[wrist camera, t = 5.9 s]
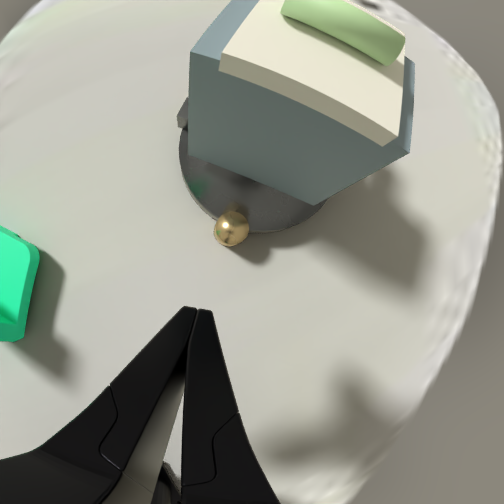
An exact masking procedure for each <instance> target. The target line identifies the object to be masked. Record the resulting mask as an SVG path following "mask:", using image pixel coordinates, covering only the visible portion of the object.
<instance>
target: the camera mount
mask: <svg viewBox="0 0 504 504" xmlns="http://www.w3.org/2000/svg"><path fill="white" fill-rule="evenodd" d="M39 260H40V256H39V251H38V249H37V248H36V246H34V245H33V244H31V243H29V242H27V241H25V240H23V239H21V238H19V237H18V235H17V234H15V233H14V232H12V231H10V230H8V229H6V228H4V227H2V226H0V341H9V342H15V341H17V340H20V339H22V338H24V333H25V326H26V320H27V314H28V309H29V303H30V298H31V294H32V289H33V285H34V280H35V276H36V272H37V268H38V264H39Z"/></svg>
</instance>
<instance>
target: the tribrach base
mask: <svg viewBox="0 0 504 504" xmlns="http://www.w3.org/2000/svg"><path fill="white" fill-rule="evenodd" d="M188 100H189V98H186V100H185V102H184V104H183V105H182V107H181V109H180V111H179V113H178V115H177V121H178V127H180V128H183V129H182V133H181V136H180V143H179V159H180V165H181V170H182V175H183V179H184V182H185V184H186V187H187V189H188V191H189V193H190V195H191V196H192V198H193V199H194V200H195V202H196V203H197V204H198V205H199V206H200V208H201V209H202V210H203V211H204V212H206V213H207V214H208V215H209V216H210V217H212V218H213V219H215V220H216V221H217V223H216V225H215V227H214V236H215V238H216V240H217V241H218V242H219V243H220V244H222V245H224V246H234V245H236V244H239V243H241V242H242V241H244V240H245V238H246V237H247V235H248V232H250V233H269V232H275V231H279V230H283V229H285V228H288V227H291V226H294V225H296V224H299V223H301V222H303V221H304V220H306V219H308V218H309V217H311V216H312V215H313V214H315V213H316V212H317V211H318V210H319V209H320V208H321V207H322V206H323V205H324V203H325V202H326V201H327V199H328V198H327V199H325V200H323V201H321V202H320V203H318V204H316V205H314V206H313V205H311V204H308V203H306V202H304V201H302V200H299V199H297V198H295V197H293V196H290V195H288V194H286V193H283V192H281V191H279V190H276V189H274V188H272V187H269V186H267V185H264V184H262V183H260V182H257V181H255V180H252V179H250V178H247V177H245V176H242V175H240V174H237V173H235V172H232V171H230V170H227V169H225V168H222V167H220V166H217V165H214V164H212V163H209V162H206V161H204V160H201V159H198V158H196V157H193V156H190V155H188Z"/></svg>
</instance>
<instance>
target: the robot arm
mask: <svg viewBox="0 0 504 504" xmlns="http://www.w3.org/2000/svg"><path fill="white" fill-rule="evenodd" d="M183 393H184V404H183V425H182V456H181V486H182V487H181V494H180V492H179V490H178V489H177V487H176V485H175V484H174V482H173V480H172V479H171V477H170V475H169V473H168V472H167V470H166V468H165V466H164V464H163V463H162V462H163V459H164V455H165V452H166V448H167V445H168V442H169V438H170V435H171V432H172V428H173V425H174V422H175V418H176V415H177V412H178V409H179V405H180V402H181V399H182V396H183ZM238 412H239V410H238V406H237V403H236V399H235V396H234V392H233V389H232V385H231V382H230V378H229V374H228V371H227V367H226V363H225V360H224V356H223V352H222V348H221V344H220V340H219V337H218V333H217V329H216V325H215V321H214V317H213V313H212V311H211V310H205V309H198V310H197V309H196V308H194V307H188V306H183V307H182V308H181V309H180V310H179V311H178V312H177V313H176V314H175V315H174V316H173V317H172V318H171V319H170V321H169V322H168V323H167V324H166V325H165V326H164V327H163V328H162V329H161V330H160V331H159V332H158V333H157V334H156V335H155V336H154V337H153V338H152V339H151V341H150V342H149V343H148V344H147V345H146V346H145V347H144V348H143V349H142V350H141V351H140V352H139V353H138V354H137V355H136V356H135V358H134V359H133V360H132V361H131V362H130V363H129V364H128V365H127V366H126V367H125V368H124V369H123V370H122V371H121V372H120V374H119V375H118V376H117V377H116V378H115V379H114V380H113V381H112V382H111V383H110V386H107V387H106V388H105V389H104V391H103V392H102V393H101V394H100V395H99V396H98V397H97V398H96V399H95V400H94V401H93V402H92V403H91V404H90V405H89V406H88V407H87V408H86V409H85V410H83V411H82V412H81V413H80V414H79V415H78V416H77V417H75V418H74V419H73V420H72V421H71V422H69V423H68V424H67V425H66V426H65V427H63V428H62V429H61V430H60V431H58V432H57V433H56V434H55V435H54V436H52V437H51V438H50V439H49V440H47V441H46V442H45V443H44V444H42V445H41V446H39V447H38V448H36V449H34V450H32V451H29V452H27V453H24V454H20V455H16V456H13V457H9V458H5V459H1V460H0V504H281V503H280V502H279V500H278V499H277V497H276V495H275V493H274V491H273V490H272V488H271V486H270V484H269V482H268V480H267V478H266V476H265V474H264V473H263V471H262V469H261V467H260V465H259V463H258V461H257V459H256V456H255V454H254V452H253V450H252V447H251V445H250V443H249V440H248V437H247V435H246V432H245V429H244V426H243V423H242V419H241V416H240V413H238Z"/></svg>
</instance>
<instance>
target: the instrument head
mask: <svg viewBox="0 0 504 504" xmlns="http://www.w3.org/2000/svg"><path fill="white" fill-rule="evenodd" d="M404 53H405V33H403V32H402V31H400V30H399V29H397V28H396V27H394V26H393V25H391V24H390V23H388V22H386V21H385V20H383V19H381V18H380V17H378V16H376V15H375V14H373V13H371V12H369V11H368V10H366V9H364V8H362V7H360V6H359V5H357V4H355V3H353V2H351V1H349V0H231V2H230V3H229V4H228V5H227V6H226V7H225V8H224V10H223V11H222V12H221V13H220V14H219V15H218V17H217V18H216V19H215V20H214V21H213V23H212V24H211V25H210V26H209V28H208V29H207V30H206V31H205V33H204V34H203V35H202V37H201V38H200V39H199V40H198V42H197V43H196V44H195V46H194V47H193V48H192V50H191V51H190V68H189V100H188V155H190V156H193V157H196V158H198V159H201V160H204V161H206V162H209V163H212V164H214V165H217V166H220V167H222V168H225V169H227V170H230V171H232V172H235V173H237V174H240V175H242V176H245V177H247V178H250V179H252V180H255V181H257V182H260V183H262V184H264V185H267V186H269V187H272V188H274V189H276V190H279V191H281V192H283V193H286V194H288V195H290V196H293V197H295V198H297V199H299V200H302V201H304V202H306V203H308V204H311V205H313V206H314V205H316V204H318V203H320V202H321V201H323V200H325V199H327V198H329V197H330V196H332V195H334V194H336V193H338V192H339V191H341V190H343V189H345V188H347V187H348V186H350V185H352V184H354V183H356V182H358V181H359V180H361V179H363V178H365V177H367V176H368V175H370V174H372V173H374V172H376V171H377V170H379V169H381V168H383V167H385V166H387V165H388V164H390V163H392V162H394V161H396V160H398V159H399V158H401V157H403V156H405V155H407V154H409V153H410V144H411V134H412V122H413V106H414V79H415V63H414V62H412V61H411V60H410V59H408V58H407V57H405V56H404Z"/></svg>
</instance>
